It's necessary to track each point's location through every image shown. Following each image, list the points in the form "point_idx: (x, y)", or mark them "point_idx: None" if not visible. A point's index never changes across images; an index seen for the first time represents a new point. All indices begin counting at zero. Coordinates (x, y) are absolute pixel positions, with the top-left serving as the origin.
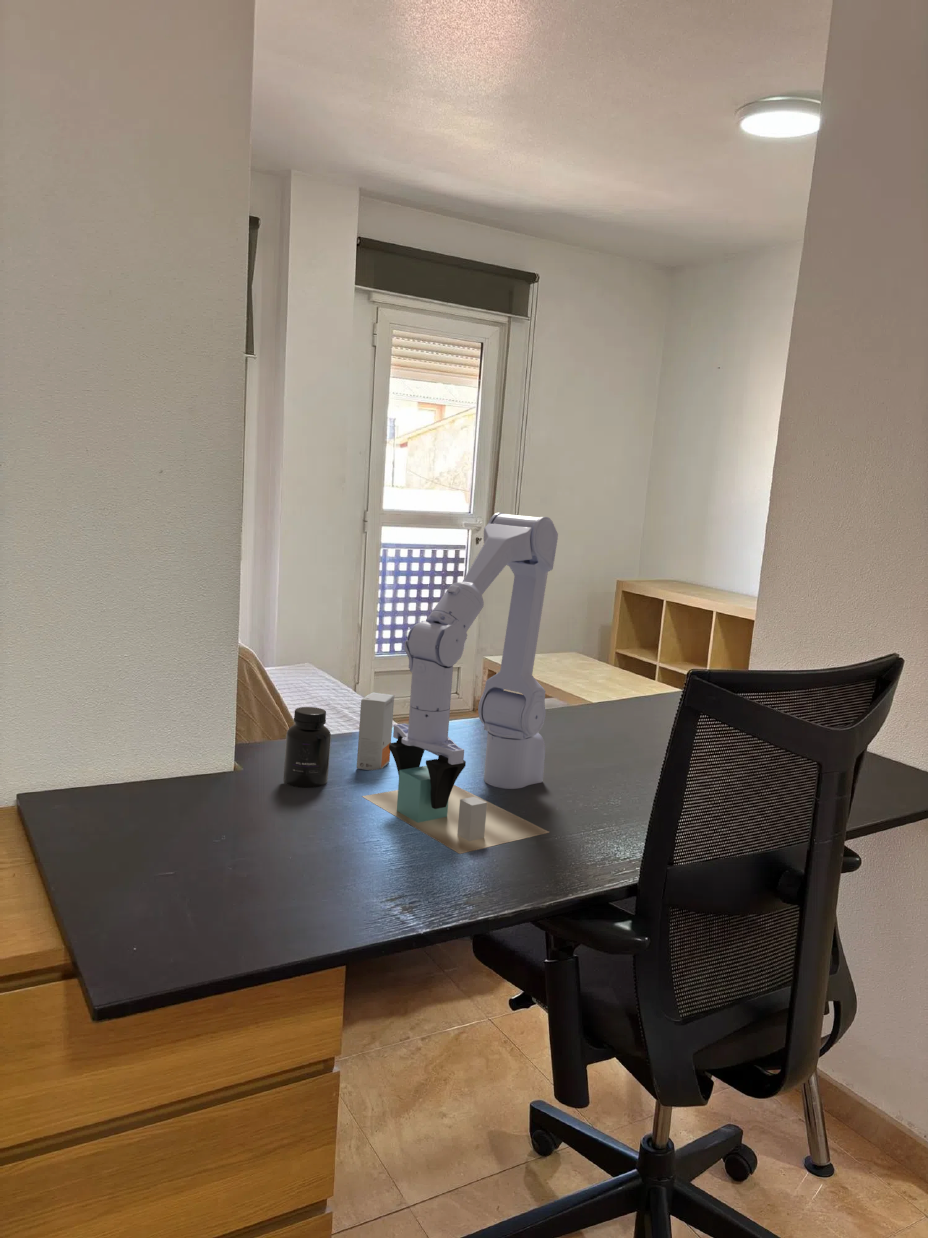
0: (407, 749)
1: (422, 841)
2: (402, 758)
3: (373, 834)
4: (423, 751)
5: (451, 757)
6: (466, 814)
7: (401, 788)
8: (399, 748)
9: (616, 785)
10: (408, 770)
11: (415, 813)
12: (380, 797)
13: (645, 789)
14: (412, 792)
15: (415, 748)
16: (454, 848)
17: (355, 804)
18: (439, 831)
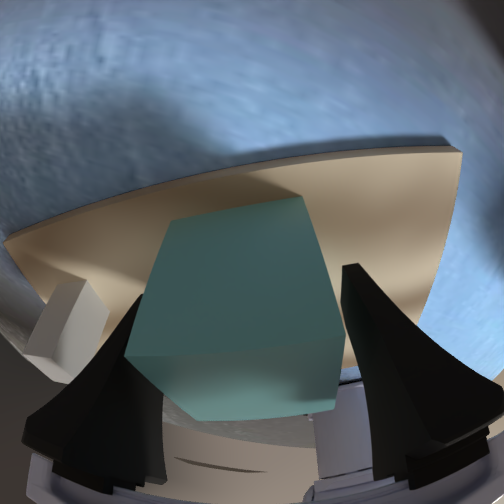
0: (398, 449)
1: (82, 192)
2: (396, 395)
3: (151, 51)
4: (371, 446)
5: (30, 476)
6: (43, 330)
7: (296, 263)
8: (423, 448)
9: (283, 438)
10: (312, 364)
11: (179, 234)
12: (429, 200)
13: (263, 443)
14: (198, 284)
15: (385, 456)
16: (18, 243)
17: (444, 115)
18: (102, 252)
